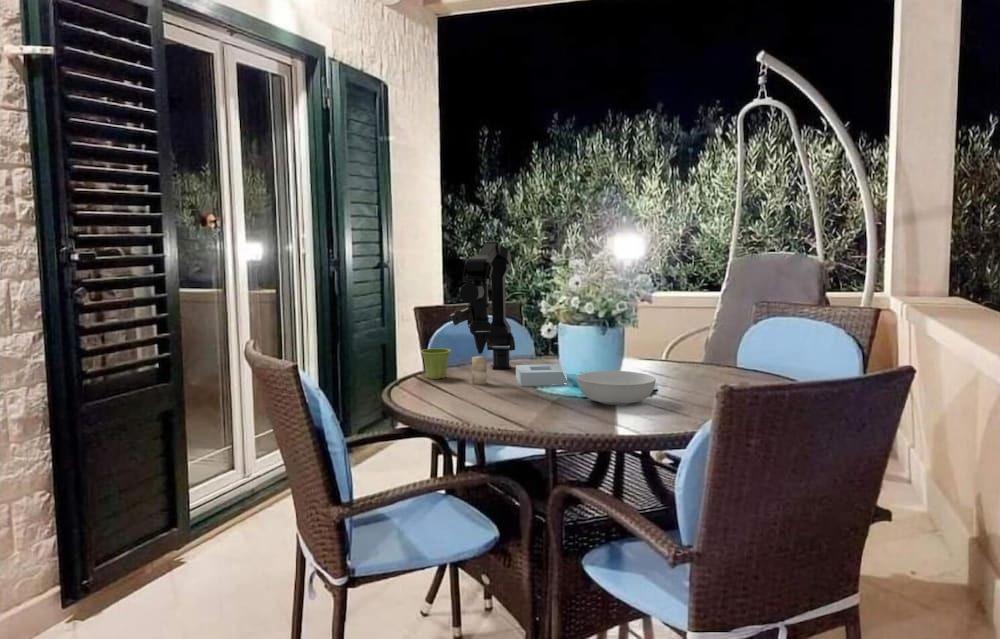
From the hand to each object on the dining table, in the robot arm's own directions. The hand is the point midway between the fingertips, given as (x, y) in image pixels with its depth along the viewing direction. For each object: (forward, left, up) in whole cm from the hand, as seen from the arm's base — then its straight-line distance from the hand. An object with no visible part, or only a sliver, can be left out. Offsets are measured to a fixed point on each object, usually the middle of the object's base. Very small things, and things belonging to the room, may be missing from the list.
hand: (479, 351), depth 241 cm
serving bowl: (+31, +35, -10) cm, 48 cm away
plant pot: (-12, -13, -10) cm, 20 cm away
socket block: (-1, +19, -10) cm, 21 cm away
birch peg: (0, 0, -10) cm, 10 cm away
